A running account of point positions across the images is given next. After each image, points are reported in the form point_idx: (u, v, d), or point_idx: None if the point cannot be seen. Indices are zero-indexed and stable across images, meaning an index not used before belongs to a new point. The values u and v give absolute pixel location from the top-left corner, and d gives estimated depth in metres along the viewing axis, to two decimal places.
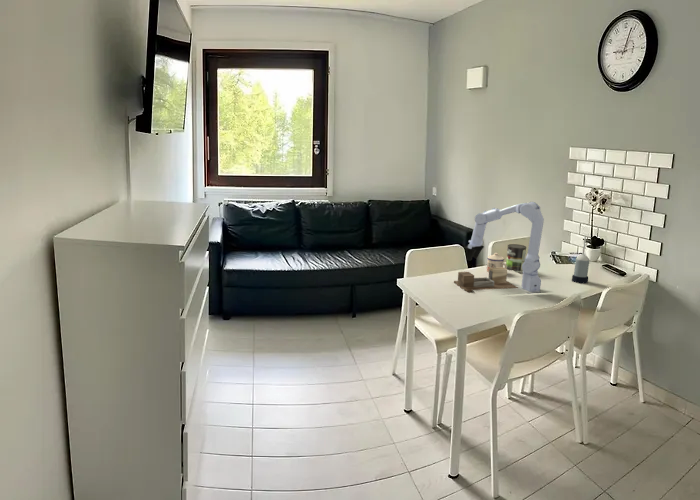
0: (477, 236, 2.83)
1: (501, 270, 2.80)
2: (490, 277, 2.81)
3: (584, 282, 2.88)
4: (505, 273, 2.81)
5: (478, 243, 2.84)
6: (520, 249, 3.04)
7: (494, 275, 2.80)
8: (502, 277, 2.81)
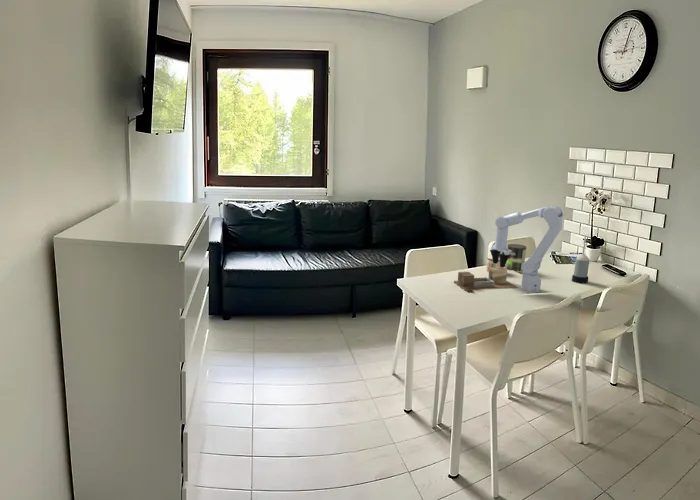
0: (505, 240, 2.76)
1: (501, 270, 2.80)
2: (490, 277, 2.81)
3: (584, 282, 2.88)
4: (505, 273, 2.81)
5: None
6: (520, 249, 3.04)
7: (494, 275, 2.80)
8: (502, 277, 2.81)
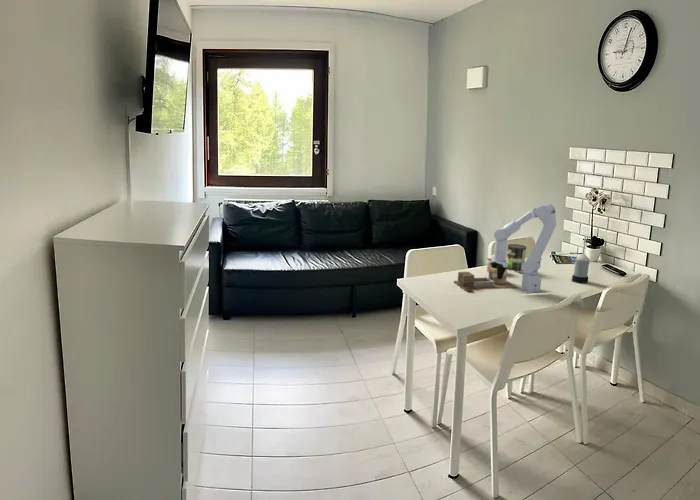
0: (504, 253, 2.77)
1: None
2: (490, 277, 2.81)
3: (584, 282, 2.88)
4: (505, 273, 2.81)
5: (504, 259, 2.79)
6: (520, 249, 3.04)
7: (494, 275, 2.80)
8: (502, 277, 2.81)
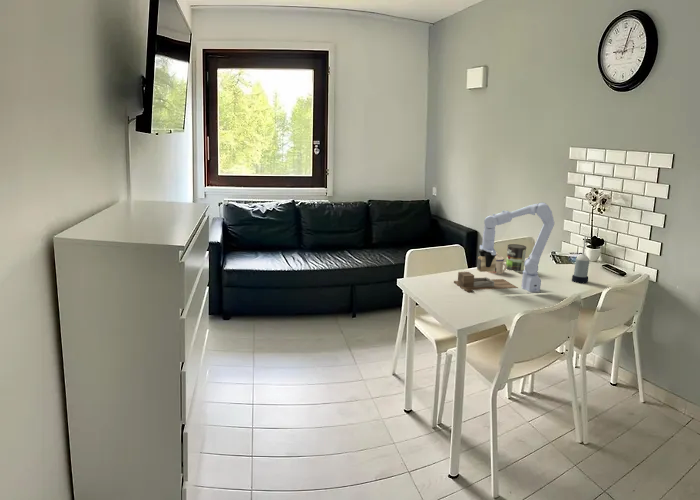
0: (492, 240, 2.71)
1: None
2: (478, 266, 2.75)
3: (584, 282, 2.88)
4: (494, 262, 2.75)
5: (493, 247, 2.73)
6: (520, 249, 3.04)
7: (482, 263, 2.74)
8: (491, 265, 2.75)
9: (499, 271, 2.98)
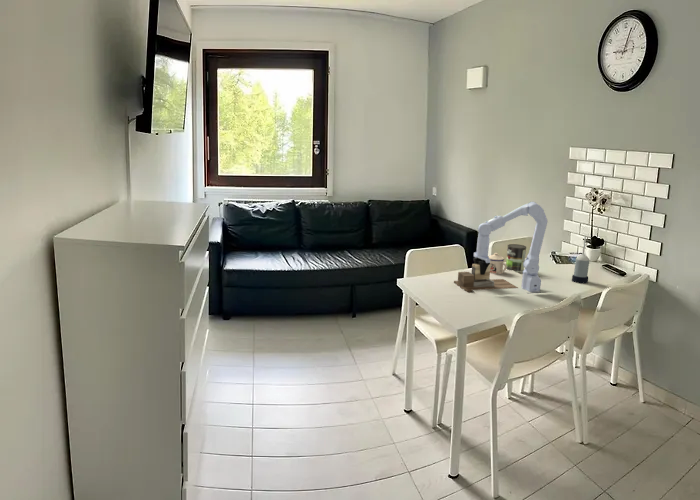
0: (486, 248, 2.70)
1: None
2: (473, 273, 2.74)
3: (584, 282, 2.88)
4: (488, 269, 2.74)
5: (487, 255, 2.72)
6: (520, 249, 3.04)
7: (476, 271, 2.73)
8: (486, 273, 2.74)
9: (499, 271, 2.98)
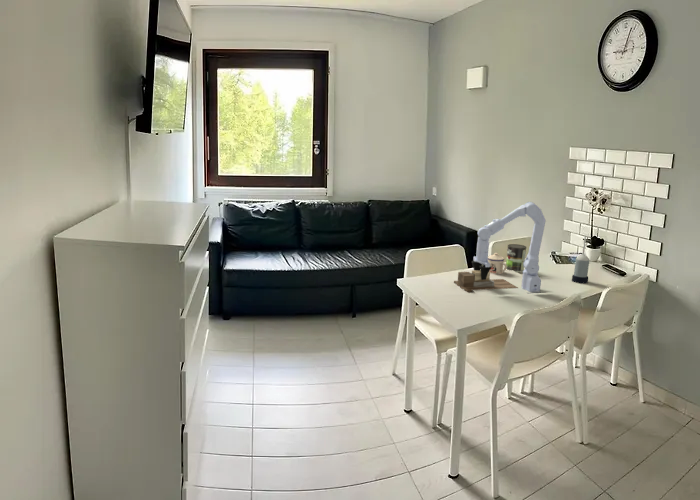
0: (486, 252, 2.71)
1: None
2: None
3: (584, 282, 2.88)
4: (488, 276, 2.75)
5: (487, 259, 2.73)
6: (520, 249, 3.04)
7: (476, 278, 2.73)
8: (485, 280, 2.75)
9: (499, 271, 2.98)
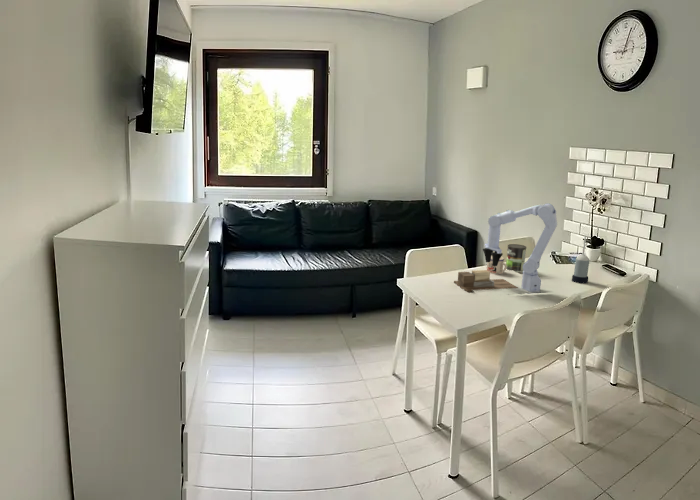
0: (498, 239, 2.76)
1: (483, 273, 2.74)
2: None
3: (584, 282, 2.88)
4: (488, 276, 2.75)
5: (498, 246, 2.78)
6: (520, 249, 3.04)
7: (476, 278, 2.73)
8: (485, 280, 2.75)
9: (499, 271, 2.98)
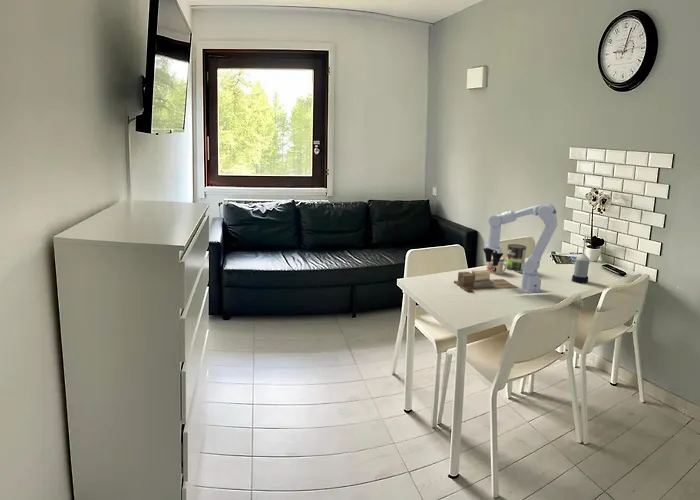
0: (498, 239, 2.76)
1: (483, 273, 2.74)
2: None
3: (584, 282, 2.88)
4: (488, 276, 2.75)
5: None
6: (520, 249, 3.04)
7: (476, 278, 2.73)
8: (485, 280, 2.75)
9: (499, 271, 2.98)
